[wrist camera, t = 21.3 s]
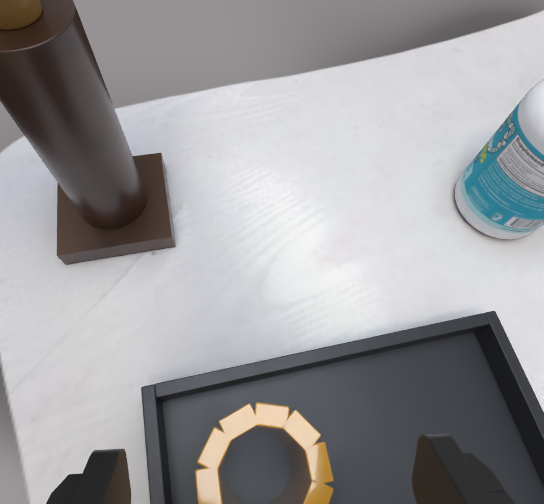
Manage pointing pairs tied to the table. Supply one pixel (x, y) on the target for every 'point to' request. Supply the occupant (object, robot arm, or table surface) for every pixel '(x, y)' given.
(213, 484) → the golden brown grooved sleeve
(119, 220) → the stand
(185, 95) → the table surface
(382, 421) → the tray
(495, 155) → the pill bottle
